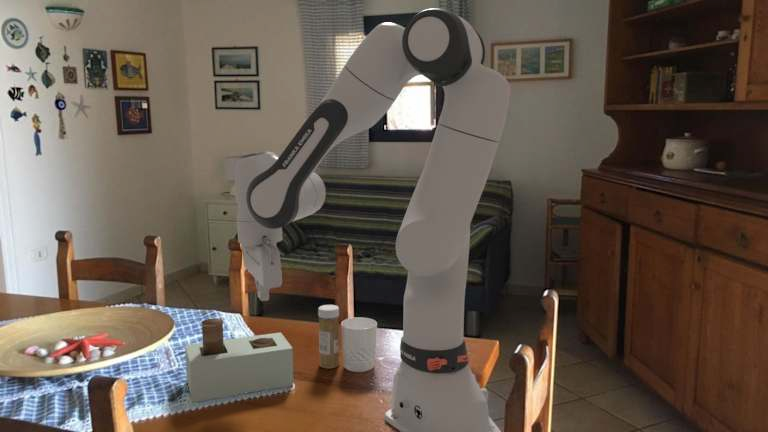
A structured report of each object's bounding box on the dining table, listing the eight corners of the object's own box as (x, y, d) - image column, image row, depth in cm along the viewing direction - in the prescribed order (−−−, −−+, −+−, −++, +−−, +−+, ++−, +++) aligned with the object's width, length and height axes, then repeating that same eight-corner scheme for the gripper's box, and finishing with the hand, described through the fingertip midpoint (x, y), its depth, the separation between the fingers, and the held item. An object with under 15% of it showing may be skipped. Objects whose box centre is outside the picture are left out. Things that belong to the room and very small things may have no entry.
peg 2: (275, 375, 126) (274, 343, 125) (255, 378, 125) (254, 346, 123) (271, 368, 130) (270, 336, 129) (251, 370, 128) (251, 339, 127)
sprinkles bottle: (343, 366, 134) (342, 308, 132) (324, 371, 132) (324, 311, 130) (333, 359, 138) (332, 302, 136) (315, 363, 136) (314, 306, 134)
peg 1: (225, 357, 121) (224, 323, 120) (204, 360, 120) (202, 326, 119) (222, 349, 125) (221, 317, 124) (201, 352, 123) (200, 319, 122)
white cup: (343, 374, 130) (343, 330, 128) (339, 360, 138) (338, 318, 136) (379, 372, 132) (380, 327, 130) (373, 358, 139) (373, 316, 138)
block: (293, 385, 125) (292, 348, 124) (192, 402, 117) (190, 363, 116) (281, 367, 134) (280, 332, 133) (186, 381, 126) (185, 345, 125)
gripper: (288, 239, 114) (291, 310, 116) (264, 224, 133) (267, 285, 135) (254, 243, 112) (258, 315, 114) (235, 226, 130) (239, 289, 132)
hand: (263, 299), depth 124 cm, fingers closed
